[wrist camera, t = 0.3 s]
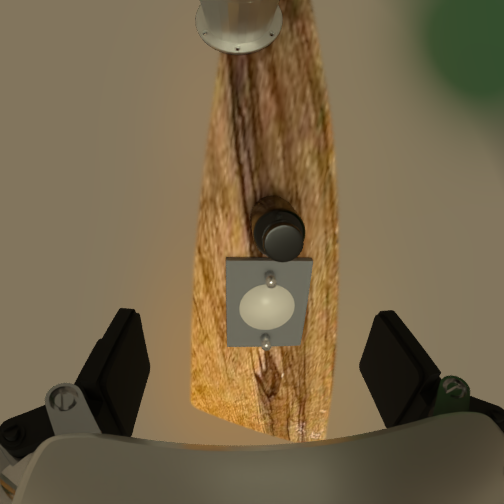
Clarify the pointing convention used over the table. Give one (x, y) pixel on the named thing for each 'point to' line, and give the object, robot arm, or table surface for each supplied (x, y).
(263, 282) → the board
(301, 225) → the supplement bottle
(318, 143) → the table surface
